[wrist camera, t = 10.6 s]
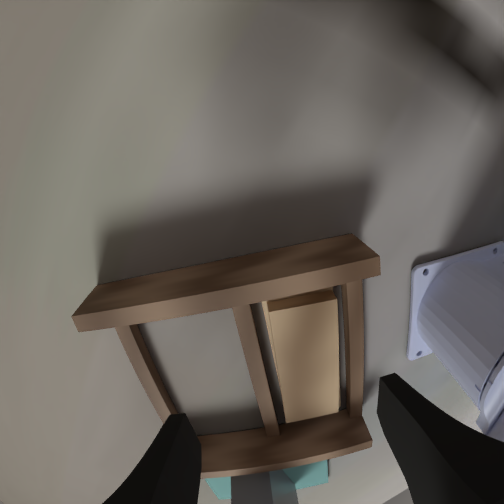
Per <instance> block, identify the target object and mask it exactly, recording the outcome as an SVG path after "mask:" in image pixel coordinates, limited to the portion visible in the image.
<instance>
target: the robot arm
mask: <svg viewBox="0 0 504 504" xmlns="http://www.w3.org/2000/svg"><path fill="white" fill-rule="evenodd" d="M493 250H494V251H493ZM424 269H426V271H425V273H423V271H424ZM431 353H434V354H435V355H436V356H437V358H438V359H439V360H440V361H441V362H442V364H443V365H444V366H445V367H446V369H447V370H448V371H449V372H450V374H451V375H452V376H453V377H454V378H455V380H456V381H457V382H458V384H459V385H460V386H461V387H462V389H463V390H464V391H465V392H466V394H467V395H468V396H469V398H470V399H471V400H472V401H473V403H474V404H475V405H476V407H477V408H478V409H479V410H480V415H479V417H478V419H477V421H476V424H477V425H478V426H479V428H480V429H481V431H482V432H483V433H484V434H482V433H480V432H478V431H476V430H474V429H472V428H470V427H468V426H466V425H464V424H463V423H461V422H459V421H457V420H456V419H454V418H453V417H451V416H450V415H448V414H447V413H445V412H444V411H442V410H441V409H439V408H438V407H437V406H435V405H434V404H433V403H431V402H430V401H429V400H427V399H426V398H425V397H423V396H422V395H421V394H420V393H418V392H417V391H416V390H415V389H414V388H412V387H411V386H410V385H409V384H408V383H407V382H405V381H404V380H403V379H402V378H401V377H400V376H398V375H397V374H396V373H393V374H389V375H386V376H383V377H380V381H379V394H378V406H377V414H378V417H379V421H380V424H381V427H382V429H383V432H384V435H385V437H386V439H387V441H388V443H389V446H390V448H391V450H392V452H393V454H394V456H395V458H396V460H397V462H398V464H399V466H400V468H401V470H402V473H403V475H404V477H405V479H406V482H407V484H408V487H409V490H410V493H411V496H412V500H413V503H414V504H504V242H503V241H499V242H496V243H493V244H490V245H486V246H483V247H480V248H476V249H473V250H470V251H466V252H463V253H459V254H456V255H452V256H449V257H445V258H441V259H438V260H434V261H431V262H427V263H423V264H419V265H417V266H415V267H414V268H413V270H412V273H411V303H410V321H409V334H408V345H407V358H408V359H409V360H414V359H417V358H420V357H423V356H425V355H428V354H431ZM201 469H202V451H201V443H200V441H199V439H198V437H197V435H196V434H195V432H194V430H193V428H192V426H191V424H190V422H189V420H188V418H187V416H186V414H185V413H183V414H170V415H169V416H168V418H167V419H166V421H165V423H164V424H163V426H162V428H161V429H160V431H159V433H158V434H157V436H156V438H155V439H154V441H153V442H152V444H151V445H150V447H149V448H148V450H147V451H146V453H145V454H144V456H143V457H142V459H141V460H140V462H139V463H138V464H137V466H136V467H135V468H134V470H133V471H132V472H131V474H130V475H129V476H128V477H127V479H126V480H125V481H124V482H123V483H122V484H121V486H120V487H119V488H118V489H117V490H116V491H115V492H114V493H113V494H112V495H111V496H110V497H109V498H108V499H107V500H106V501H105V502H104V503H102V504H197V502H198V494H199V486H200V477H201Z"/></svg>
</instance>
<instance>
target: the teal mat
mask: <svg viewBox="0 0 504 504" xmlns="http://www.w3.org/2000/svg"><path fill="white" fill-rule="evenodd" d="M282 470H283V471H284V472H285V474H286V475H287V476H288V477H289V478H290V479H291V480H292V482H293V483H294V484H295V487H296V489H301V488H306V487H310V486H315V485H319V484H324V483H328V466H327V460H324V461H319V462H315V463H311V464H306V465H301V466H297V467H291V468H286V469H282ZM205 480H206V482H207V483H208V484H209V486H210V487H211V489H212V490H213V492H214V493H215V495H216V496H217V497H218V499H231V476H230V477H219V478H206V479H205Z"/></svg>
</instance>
